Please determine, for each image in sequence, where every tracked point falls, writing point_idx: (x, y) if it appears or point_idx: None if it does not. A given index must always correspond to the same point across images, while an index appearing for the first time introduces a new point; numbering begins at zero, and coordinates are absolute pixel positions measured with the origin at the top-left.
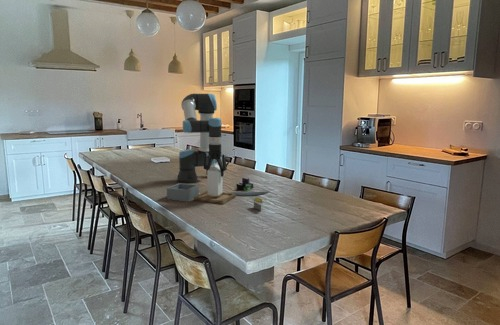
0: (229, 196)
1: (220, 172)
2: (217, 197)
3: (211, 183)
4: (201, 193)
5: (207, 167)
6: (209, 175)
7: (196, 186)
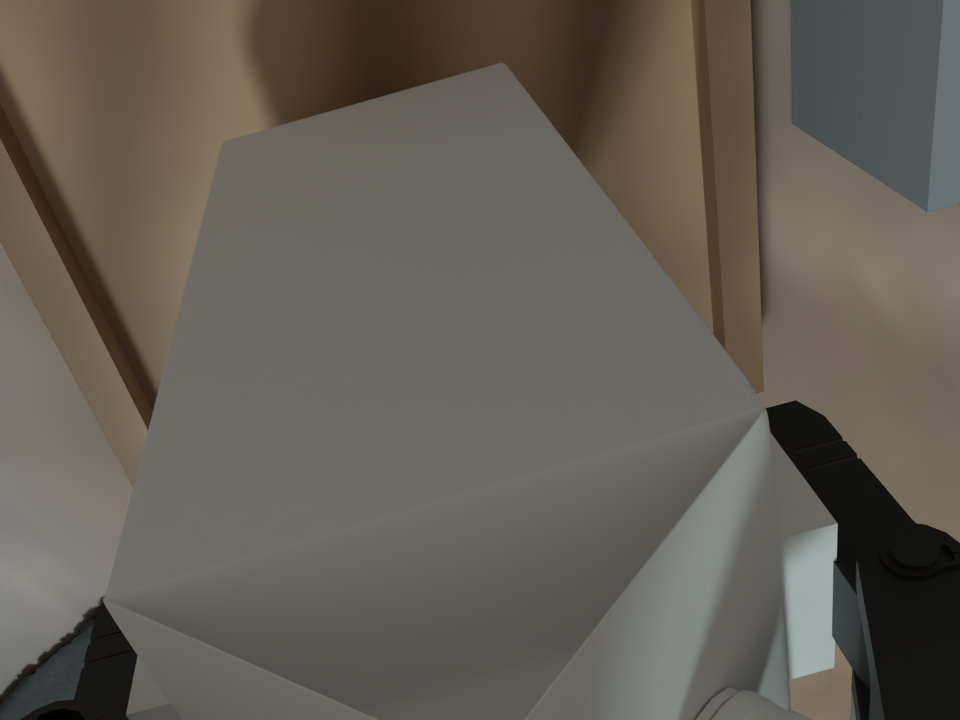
0: (93, 343)
1: (135, 678)
2: None
3: (425, 201)
4: (750, 152)
5: (944, 647)
6: (565, 312)
7: (930, 95)
